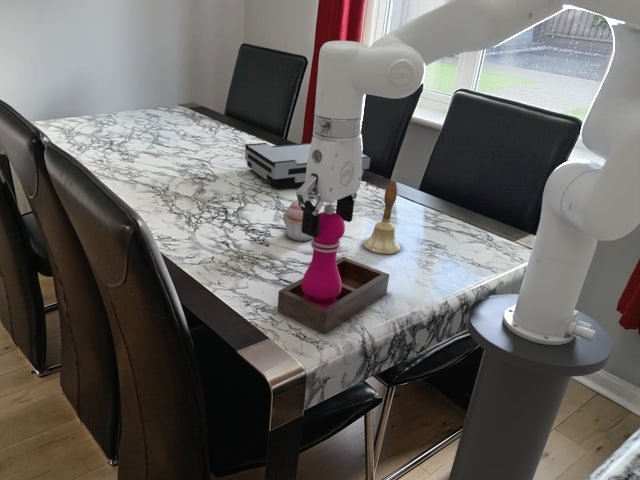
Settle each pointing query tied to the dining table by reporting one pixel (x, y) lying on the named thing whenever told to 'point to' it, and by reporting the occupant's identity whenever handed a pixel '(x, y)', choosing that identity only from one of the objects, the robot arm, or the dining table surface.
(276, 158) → the game console
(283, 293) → the holder
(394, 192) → the hand bell
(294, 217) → the cupcake
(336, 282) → the pepper mill
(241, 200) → the dining table surface
